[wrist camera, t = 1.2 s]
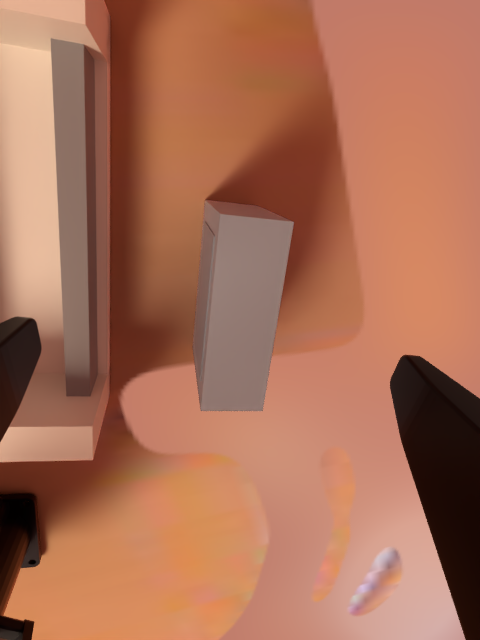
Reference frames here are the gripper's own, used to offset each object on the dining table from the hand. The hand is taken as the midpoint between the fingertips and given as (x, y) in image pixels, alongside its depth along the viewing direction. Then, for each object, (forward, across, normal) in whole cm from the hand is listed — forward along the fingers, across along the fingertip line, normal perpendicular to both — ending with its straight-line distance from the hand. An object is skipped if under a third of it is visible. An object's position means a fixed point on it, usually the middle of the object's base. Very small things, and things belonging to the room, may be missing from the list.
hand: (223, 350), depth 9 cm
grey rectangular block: (+13, 0, +5) cm, 14 cm away
